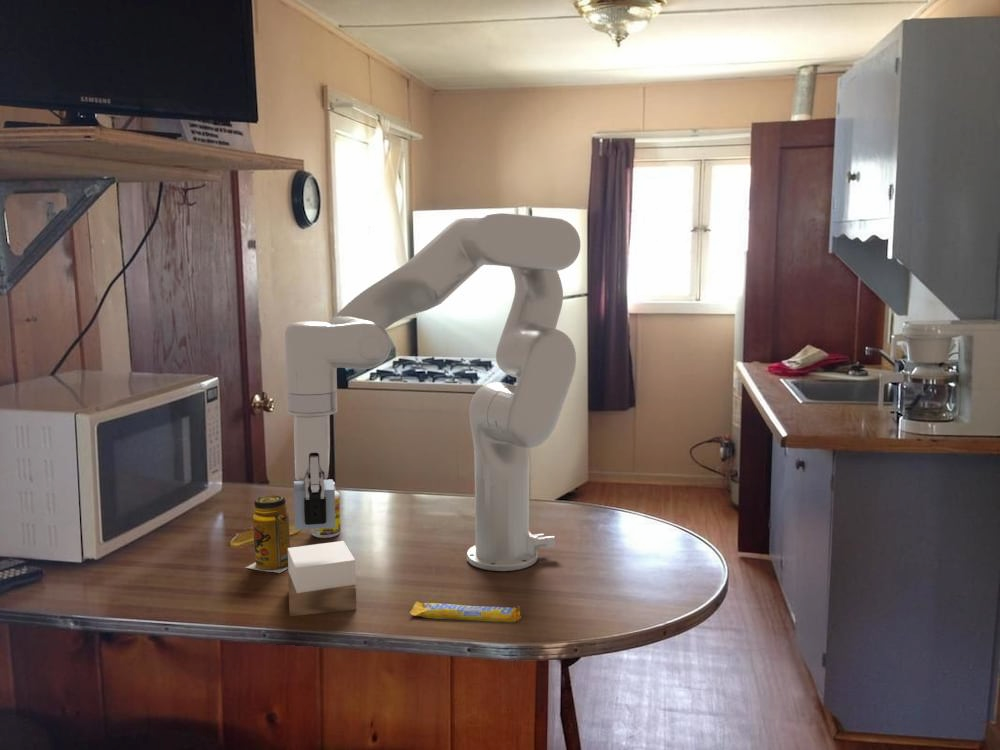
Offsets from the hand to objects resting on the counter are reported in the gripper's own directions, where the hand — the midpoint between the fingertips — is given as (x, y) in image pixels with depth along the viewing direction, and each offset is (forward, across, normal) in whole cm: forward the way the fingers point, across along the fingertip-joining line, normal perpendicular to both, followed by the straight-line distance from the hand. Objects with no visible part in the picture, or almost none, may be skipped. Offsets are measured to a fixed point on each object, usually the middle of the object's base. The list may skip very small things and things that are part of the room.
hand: (315, 515), depth 133 cm
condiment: (+14, -18, -6) cm, 24 cm away
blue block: (+1, 0, 0) cm, 1 cm away
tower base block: (+14, 0, +1) cm, 14 cm away
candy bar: (+14, +11, +22) cm, 28 cm away
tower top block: (+10, 0, +1) cm, 10 cm away
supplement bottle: (+14, -31, +2) cm, 34 cm away
